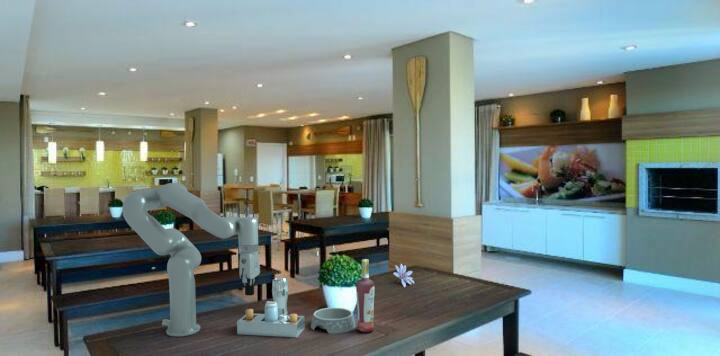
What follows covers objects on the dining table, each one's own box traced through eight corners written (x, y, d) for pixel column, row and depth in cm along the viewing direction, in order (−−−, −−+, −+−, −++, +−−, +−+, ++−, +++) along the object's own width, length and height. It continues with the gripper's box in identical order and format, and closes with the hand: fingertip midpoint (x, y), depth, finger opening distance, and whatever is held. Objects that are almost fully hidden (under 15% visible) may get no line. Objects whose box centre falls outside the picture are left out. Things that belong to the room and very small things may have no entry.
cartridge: (263, 333, 184) (262, 303, 183) (267, 328, 189) (267, 299, 188) (275, 333, 183) (275, 304, 183) (279, 329, 188) (279, 300, 188)
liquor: (368, 335, 181) (368, 262, 180) (352, 331, 185) (352, 260, 184) (378, 329, 187) (377, 259, 186) (362, 326, 191) (362, 257, 190)
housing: (237, 334, 183) (237, 321, 183) (247, 325, 193) (247, 313, 193) (297, 337, 179) (297, 324, 179) (304, 328, 189) (304, 315, 189)
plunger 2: (288, 328, 183) (288, 315, 183) (290, 326, 186) (290, 313, 186) (296, 329, 183) (295, 316, 182) (298, 326, 186) (298, 313, 185)
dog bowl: (326, 316, 204) (326, 304, 204) (363, 323, 195) (363, 310, 194) (302, 328, 189) (302, 315, 189) (340, 337, 180) (340, 323, 180)
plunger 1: (244, 323, 186) (244, 311, 186) (247, 321, 189) (247, 308, 189) (251, 324, 186) (251, 311, 185) (254, 321, 189) (254, 309, 188)
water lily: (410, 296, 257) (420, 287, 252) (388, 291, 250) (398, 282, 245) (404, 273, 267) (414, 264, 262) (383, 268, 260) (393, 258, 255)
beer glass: (285, 316, 203) (284, 282, 203) (270, 315, 204) (269, 281, 204) (290, 311, 210) (290, 278, 209) (276, 310, 211) (275, 277, 211)
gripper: (250, 252, 178) (251, 300, 179) (264, 245, 193) (265, 289, 194) (231, 252, 179) (232, 300, 180) (247, 245, 194) (248, 289, 195)
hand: (249, 294), depth 187 cm, fingers closed
